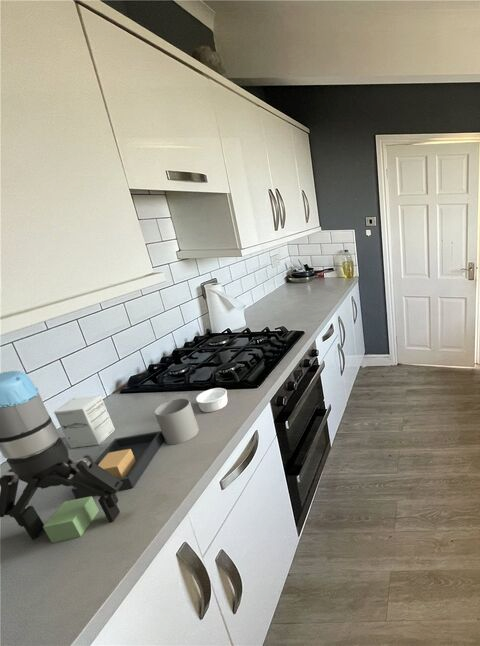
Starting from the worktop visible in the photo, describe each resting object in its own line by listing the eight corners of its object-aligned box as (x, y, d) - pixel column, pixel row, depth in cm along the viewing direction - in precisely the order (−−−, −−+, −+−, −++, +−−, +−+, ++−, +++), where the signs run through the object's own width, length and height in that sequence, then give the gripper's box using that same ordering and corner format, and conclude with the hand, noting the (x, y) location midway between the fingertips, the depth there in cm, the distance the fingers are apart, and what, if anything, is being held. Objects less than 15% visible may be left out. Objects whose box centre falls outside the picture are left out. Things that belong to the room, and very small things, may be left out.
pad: (51, 542, 72) (42, 527, 70) (72, 516, 78) (64, 501, 76) (81, 536, 73) (72, 520, 72) (99, 510, 79) (91, 496, 77)
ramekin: (235, 399, 120) (232, 389, 119) (215, 415, 112) (211, 403, 111) (214, 397, 122) (211, 386, 121) (192, 412, 114) (189, 400, 113)
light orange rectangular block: (99, 485, 85) (92, 470, 84) (114, 466, 91) (108, 452, 90) (123, 480, 87) (117, 466, 85) (136, 462, 92) (130, 448, 91)
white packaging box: (70, 449, 99) (51, 411, 94) (89, 432, 106) (73, 396, 101) (99, 445, 100) (82, 408, 95) (116, 429, 107) (101, 394, 102)
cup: (195, 422, 109) (187, 395, 105) (201, 434, 103) (192, 406, 100) (163, 434, 104) (152, 406, 100) (167, 448, 98) (156, 419, 94)
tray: (76, 499, 82) (70, 489, 81) (118, 447, 99) (114, 438, 98) (133, 488, 85) (129, 478, 84) (165, 439, 102) (162, 430, 101)
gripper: (119, 423, 74) (151, 497, 82) (-30, 448, 68) (20, 525, 76) (98, 446, 67) (136, 524, 75) (-69, 476, 61) (-11, 558, 69)
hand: (77, 525), depth 75 cm, fingers open, 13 cm apart
